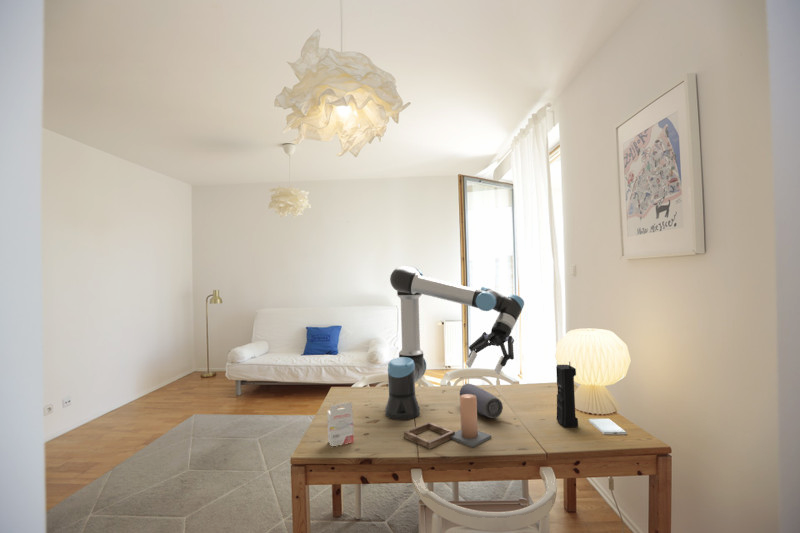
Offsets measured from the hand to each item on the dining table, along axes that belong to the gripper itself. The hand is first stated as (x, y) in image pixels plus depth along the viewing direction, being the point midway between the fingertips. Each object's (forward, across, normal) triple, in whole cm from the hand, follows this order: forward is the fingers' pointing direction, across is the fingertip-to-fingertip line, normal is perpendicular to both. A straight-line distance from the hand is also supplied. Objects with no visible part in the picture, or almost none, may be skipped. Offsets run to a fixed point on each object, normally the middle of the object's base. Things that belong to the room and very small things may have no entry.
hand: (481, 368), depth 146 cm
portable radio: (-3, -21, -35) cm, 41 cm away
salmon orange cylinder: (+23, -2, -8) cm, 25 cm away
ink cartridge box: (+50, +29, +16) cm, 60 cm away
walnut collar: (+31, +9, -2) cm, 32 cm away
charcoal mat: (+24, -2, -9) cm, 25 cm away
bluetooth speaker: (+7, +11, -26) cm, 29 cm away
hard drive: (-8, -33, -40) cm, 52 cm away
